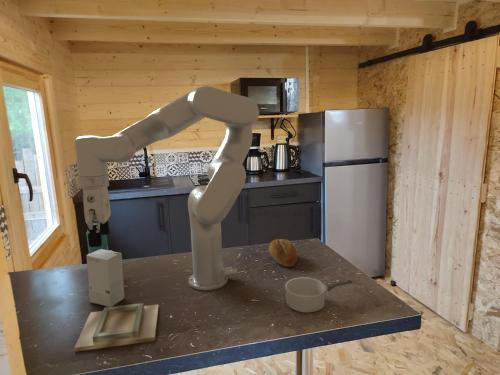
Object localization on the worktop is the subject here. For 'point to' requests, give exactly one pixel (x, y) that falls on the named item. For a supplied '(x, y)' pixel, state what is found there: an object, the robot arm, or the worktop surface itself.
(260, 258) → the worktop surface
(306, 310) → the saucepan
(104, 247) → the beverage bottle
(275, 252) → the bread roll
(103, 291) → the skincare box
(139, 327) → the nest board
